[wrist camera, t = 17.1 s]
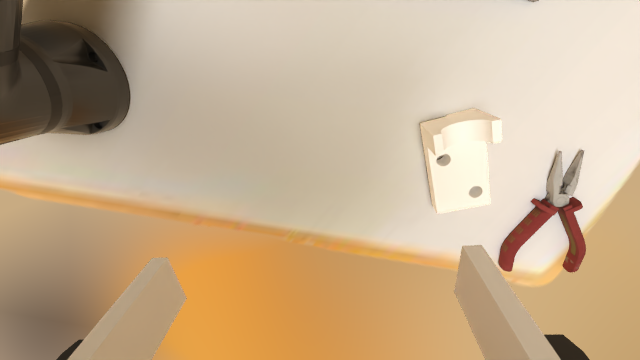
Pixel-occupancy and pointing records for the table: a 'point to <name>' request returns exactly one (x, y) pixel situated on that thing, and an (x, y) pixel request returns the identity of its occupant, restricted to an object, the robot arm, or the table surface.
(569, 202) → the pliers
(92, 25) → the table surface
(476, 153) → the bracket
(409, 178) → the table surface
